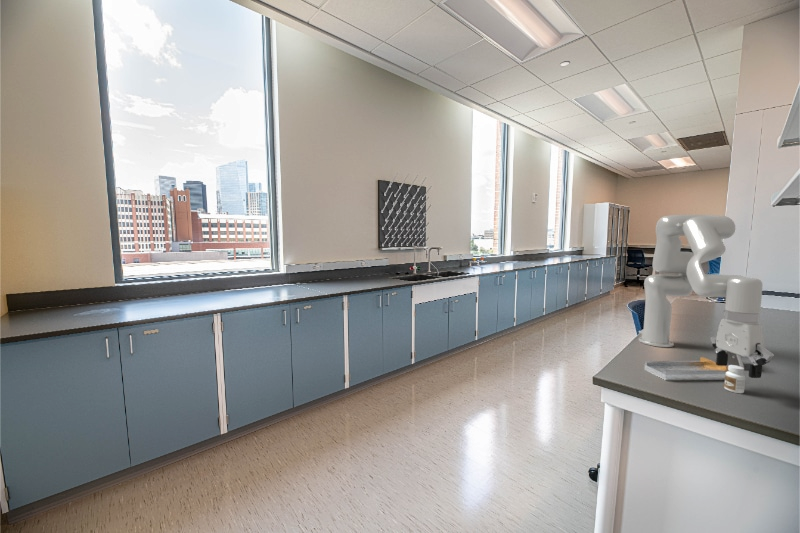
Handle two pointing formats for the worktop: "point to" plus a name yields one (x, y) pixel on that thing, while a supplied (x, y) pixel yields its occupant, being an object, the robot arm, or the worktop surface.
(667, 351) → the worktop surface
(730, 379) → the pill bottle
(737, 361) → the electrical switch
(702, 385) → the worktop surface
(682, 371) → the rail
